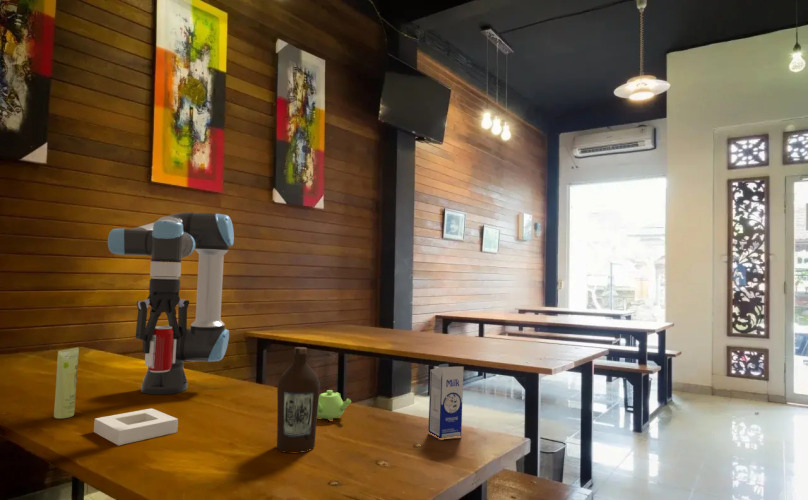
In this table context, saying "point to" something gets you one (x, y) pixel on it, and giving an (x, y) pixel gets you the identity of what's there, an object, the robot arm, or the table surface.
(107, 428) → the socket block
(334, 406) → the teapot
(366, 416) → the table surface
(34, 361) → the table surface
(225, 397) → the table surface
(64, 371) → the tube
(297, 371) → the olive oil
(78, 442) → the table surface
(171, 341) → the soda can
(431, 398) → the milk carton
